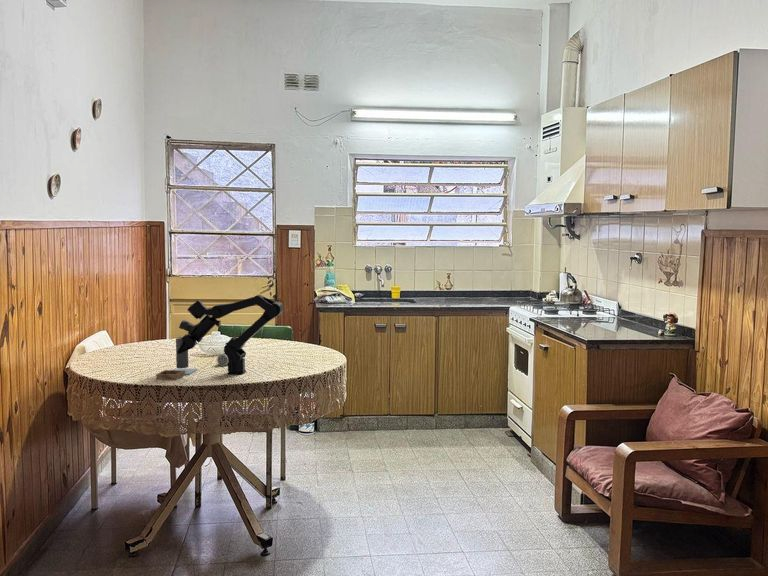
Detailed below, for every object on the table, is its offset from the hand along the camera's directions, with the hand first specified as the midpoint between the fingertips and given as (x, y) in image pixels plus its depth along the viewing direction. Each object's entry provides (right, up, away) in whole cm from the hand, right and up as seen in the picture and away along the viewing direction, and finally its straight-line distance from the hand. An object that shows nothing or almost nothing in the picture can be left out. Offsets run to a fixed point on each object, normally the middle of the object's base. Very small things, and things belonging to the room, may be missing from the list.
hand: (178, 352), depth 309 cm
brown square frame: (-1, -10, -9) cm, 13 cm away
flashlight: (+17, -7, +23) cm, 30 cm away
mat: (+1, -9, +1) cm, 9 cm away
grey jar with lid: (+1, -7, +1) cm, 7 cm away
